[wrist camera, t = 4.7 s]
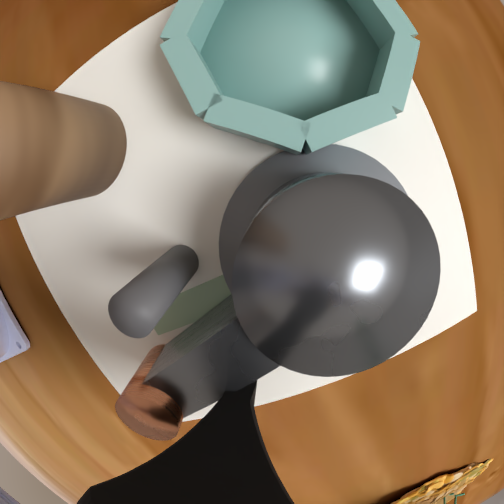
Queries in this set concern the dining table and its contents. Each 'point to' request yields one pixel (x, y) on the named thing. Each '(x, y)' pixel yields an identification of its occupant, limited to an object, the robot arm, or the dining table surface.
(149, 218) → the board
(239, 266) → the grey ball-ended lever
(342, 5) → the socket
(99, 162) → the pin
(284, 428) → the dining table surface
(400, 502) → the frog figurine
